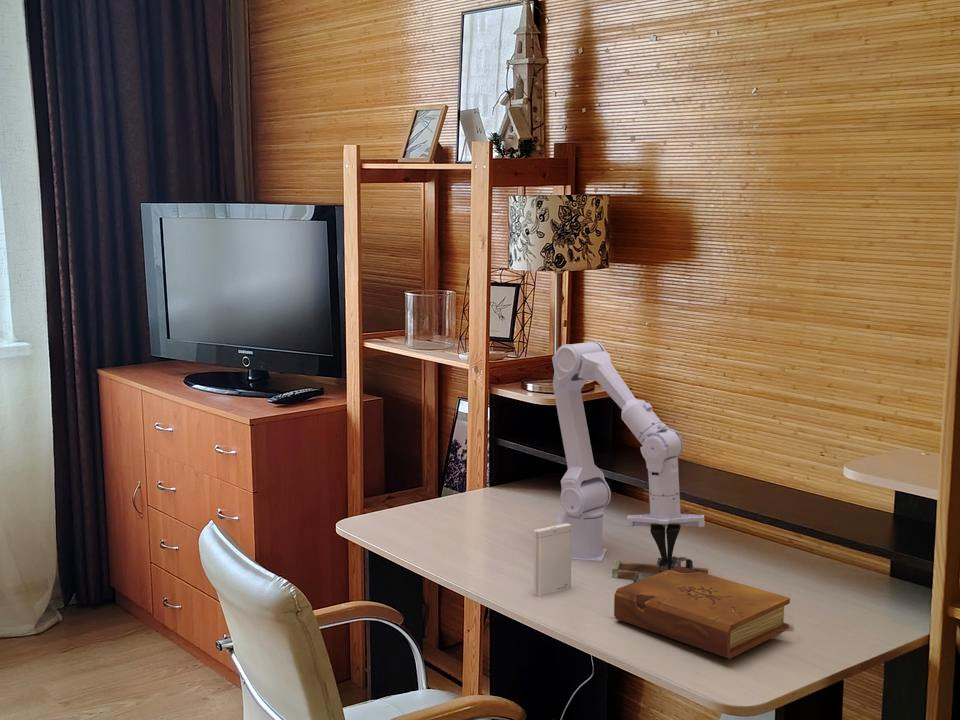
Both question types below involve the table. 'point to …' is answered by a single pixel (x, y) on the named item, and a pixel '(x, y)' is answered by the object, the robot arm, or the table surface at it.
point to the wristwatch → (677, 559)
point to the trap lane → (641, 569)
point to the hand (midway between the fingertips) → (667, 563)
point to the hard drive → (552, 559)
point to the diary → (702, 610)
